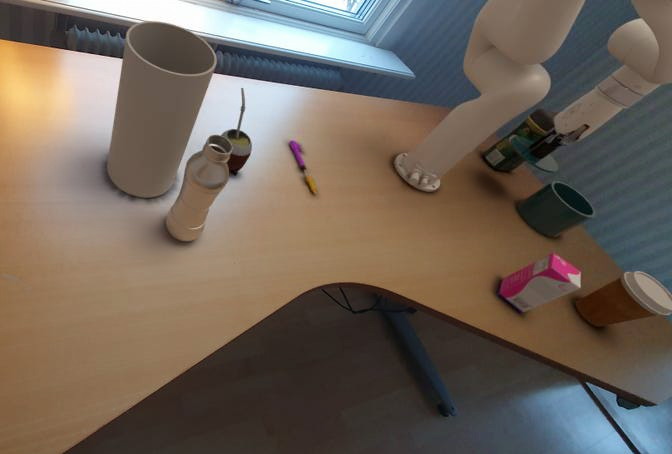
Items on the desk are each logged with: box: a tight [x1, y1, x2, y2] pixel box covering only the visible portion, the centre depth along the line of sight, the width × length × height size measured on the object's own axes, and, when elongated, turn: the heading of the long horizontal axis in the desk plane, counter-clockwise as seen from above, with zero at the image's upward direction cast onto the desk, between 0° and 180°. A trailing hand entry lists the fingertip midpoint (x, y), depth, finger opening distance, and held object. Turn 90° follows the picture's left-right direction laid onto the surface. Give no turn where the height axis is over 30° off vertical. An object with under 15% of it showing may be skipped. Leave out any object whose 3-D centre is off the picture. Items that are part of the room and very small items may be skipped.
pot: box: [517, 180, 597, 238], centre depth 97 cm, size 12×12×9 cm
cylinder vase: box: [106, 20, 218, 199], centre depth 59 cm, size 12×12×25 cm
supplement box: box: [496, 252, 582, 314], centre depth 74 cm, size 6×6×12 cm
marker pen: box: [289, 140, 318, 195], centre depth 84 cm, size 3×1×16 cm
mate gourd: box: [220, 87, 253, 177], centre depth 71 cm, size 8×8×15 cm
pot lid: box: [510, 134, 560, 174], centre depth 93 cm, size 13×13×7 cm
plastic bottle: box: [165, 134, 233, 242], centre depth 56 cm, size 6×7×20 cm
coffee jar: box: [483, 107, 560, 172], centre depth 106 cm, size 10×8×19 cm
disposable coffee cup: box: [575, 270, 672, 328], centre depth 78 cm, size 10×10×12 cm
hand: (535, 152), depth 95 cm, fingers closed on pot lid, 2 cm apart
